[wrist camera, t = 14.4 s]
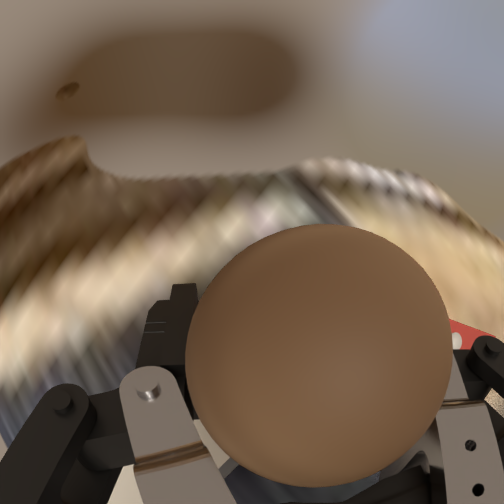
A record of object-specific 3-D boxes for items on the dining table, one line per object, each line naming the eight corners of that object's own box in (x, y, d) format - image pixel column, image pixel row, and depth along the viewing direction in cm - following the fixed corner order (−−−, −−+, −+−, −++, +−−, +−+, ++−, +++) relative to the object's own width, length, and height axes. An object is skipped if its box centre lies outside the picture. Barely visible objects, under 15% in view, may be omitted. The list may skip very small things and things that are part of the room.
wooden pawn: (253, 275, 15) (315, 74, 4) (340, 347, 14) (556, 299, 3) (175, 362, 14) (11, 368, 2) (267, 437, 13) (373, 605, 2)
